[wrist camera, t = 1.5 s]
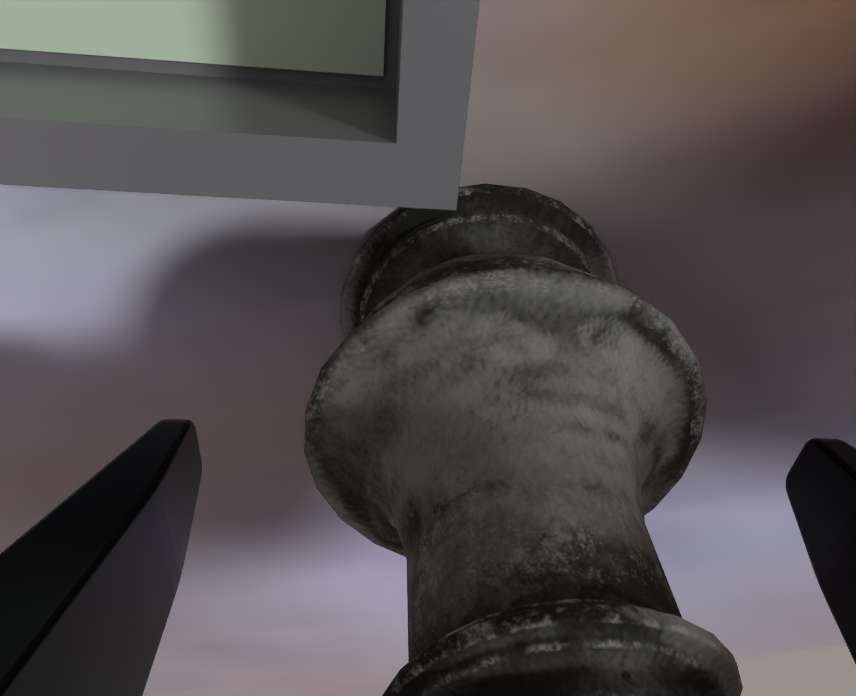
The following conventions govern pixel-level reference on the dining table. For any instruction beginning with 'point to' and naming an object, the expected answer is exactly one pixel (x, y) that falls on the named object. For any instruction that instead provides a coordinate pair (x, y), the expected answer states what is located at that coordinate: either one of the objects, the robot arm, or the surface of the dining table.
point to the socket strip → (239, 98)
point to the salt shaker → (514, 452)
